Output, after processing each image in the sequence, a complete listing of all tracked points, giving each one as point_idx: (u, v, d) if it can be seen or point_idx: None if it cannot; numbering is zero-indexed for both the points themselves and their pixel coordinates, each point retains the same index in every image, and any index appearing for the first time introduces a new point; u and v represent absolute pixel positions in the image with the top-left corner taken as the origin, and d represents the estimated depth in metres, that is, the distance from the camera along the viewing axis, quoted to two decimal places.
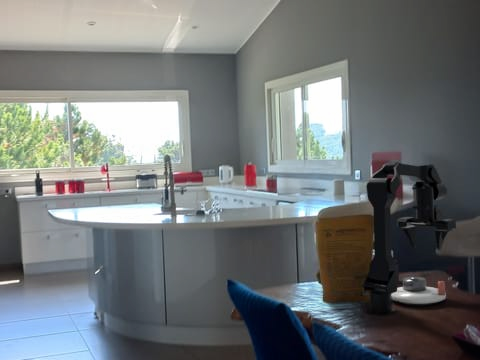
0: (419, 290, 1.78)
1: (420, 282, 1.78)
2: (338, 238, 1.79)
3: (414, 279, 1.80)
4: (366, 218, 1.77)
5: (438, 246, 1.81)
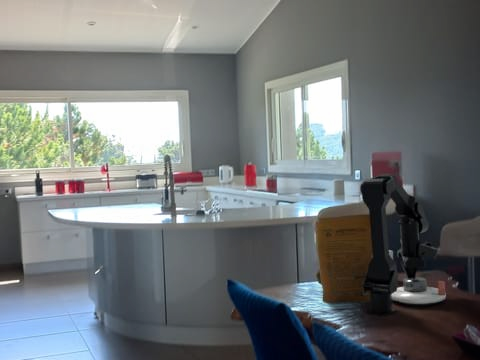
0: (419, 290, 1.77)
1: (420, 282, 1.77)
2: (338, 238, 1.79)
3: (414, 279, 1.79)
4: (366, 218, 1.77)
5: None
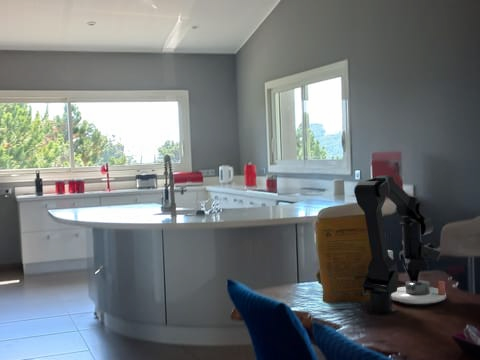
0: (422, 294, 1.73)
1: (423, 285, 1.73)
2: (338, 238, 1.79)
3: (417, 282, 1.75)
4: None
5: None
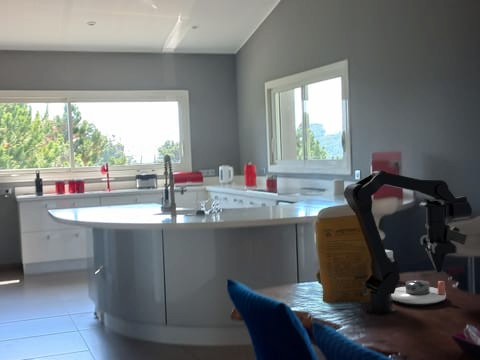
0: (422, 294, 1.73)
1: (423, 285, 1.73)
2: (338, 238, 1.79)
3: (417, 282, 1.75)
4: None
5: (435, 267, 1.70)
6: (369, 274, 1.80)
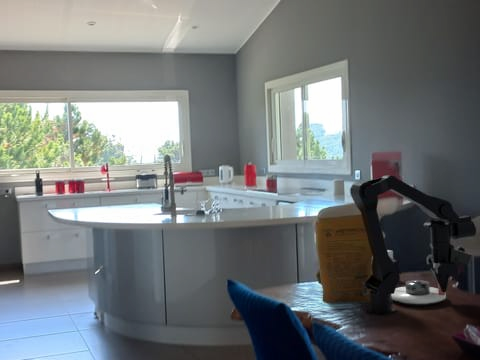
0: (423, 294, 1.73)
1: (424, 285, 1.73)
2: (338, 238, 1.79)
3: (417, 282, 1.75)
4: None
5: (440, 287, 1.70)
6: (369, 274, 1.80)
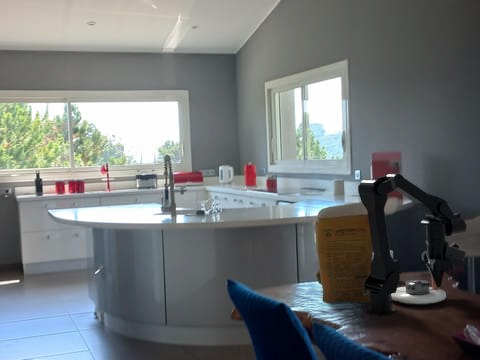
0: (429, 291, 1.75)
1: (428, 283, 1.76)
2: (338, 238, 1.79)
3: (420, 282, 1.76)
4: (366, 218, 1.77)
5: (435, 283, 1.76)
6: (369, 274, 1.80)
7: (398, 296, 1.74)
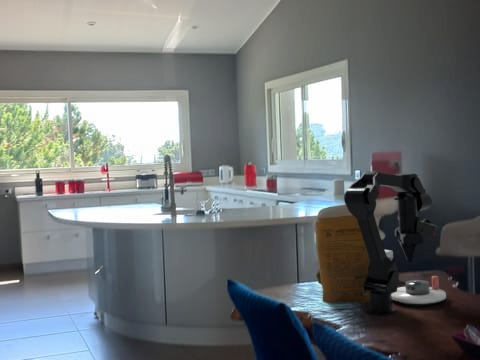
0: (429, 291, 1.75)
1: None
2: (338, 238, 1.79)
3: (420, 282, 1.76)
4: None
5: (406, 257, 1.77)
6: None
7: (398, 296, 1.74)
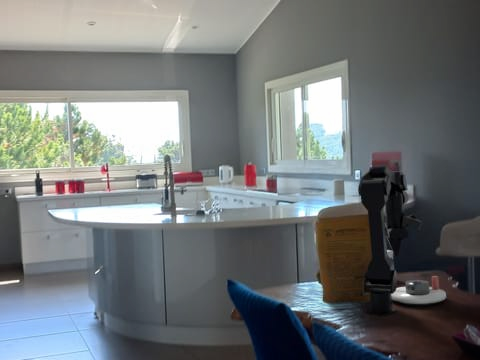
0: (429, 291, 1.75)
1: None
2: (338, 238, 1.79)
3: (420, 282, 1.76)
4: (366, 218, 1.77)
5: (393, 251, 1.87)
6: None
7: (398, 296, 1.74)
